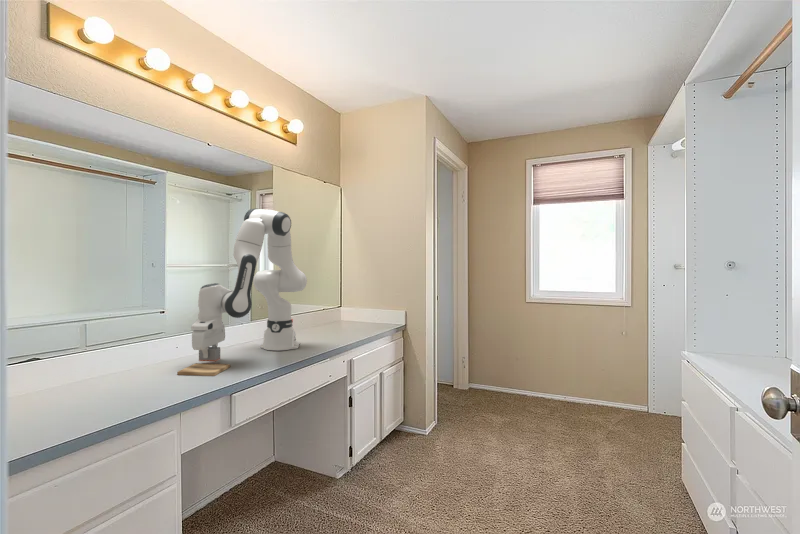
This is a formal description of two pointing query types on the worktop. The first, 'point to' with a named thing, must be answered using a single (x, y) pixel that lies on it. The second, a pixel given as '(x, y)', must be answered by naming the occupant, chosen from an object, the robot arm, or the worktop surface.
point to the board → (204, 369)
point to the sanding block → (211, 354)
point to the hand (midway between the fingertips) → (209, 356)
